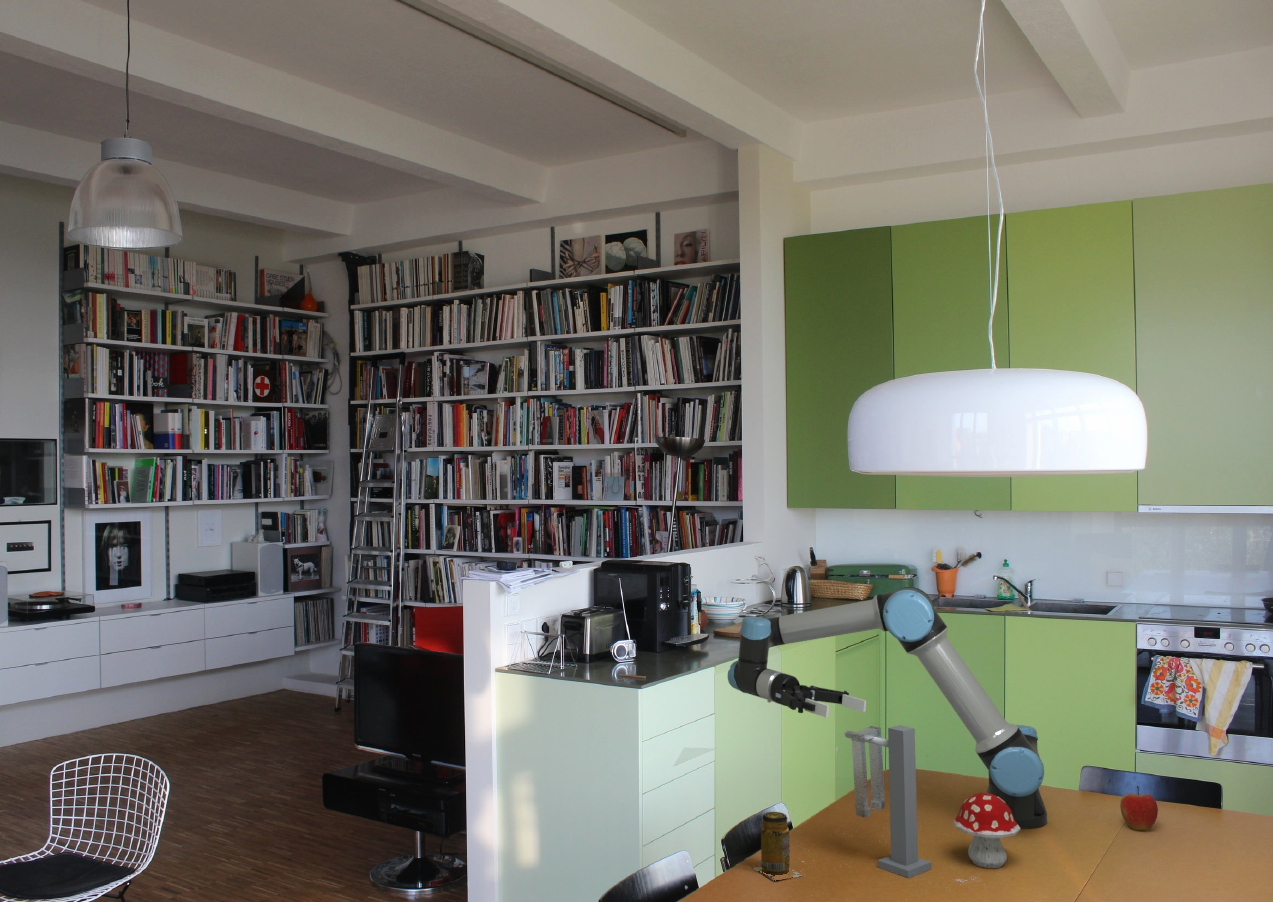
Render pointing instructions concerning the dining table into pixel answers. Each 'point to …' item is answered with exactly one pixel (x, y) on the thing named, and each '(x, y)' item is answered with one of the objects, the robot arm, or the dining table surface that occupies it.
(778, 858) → the condiment
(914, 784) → the hook stand
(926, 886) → the dining table surface
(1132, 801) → the apple
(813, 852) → the dining table surface
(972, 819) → the decorative mushroom
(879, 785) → the c link
